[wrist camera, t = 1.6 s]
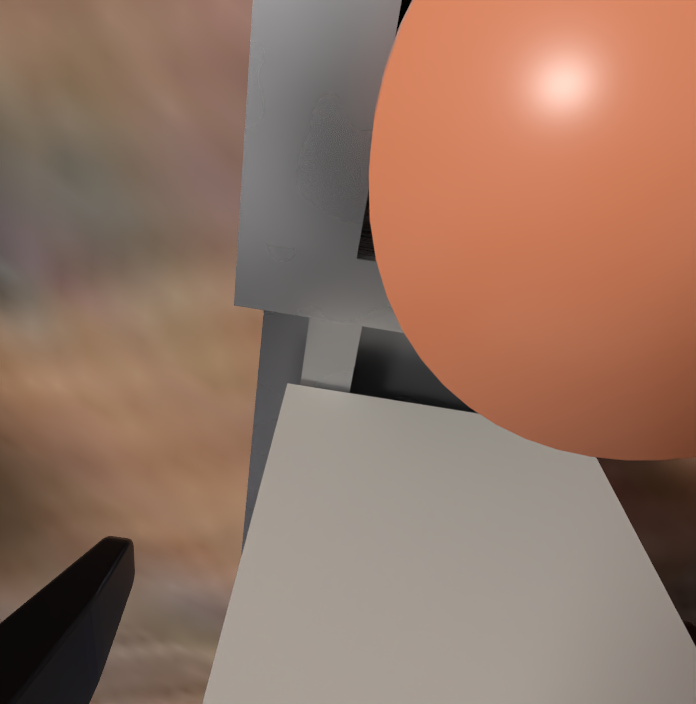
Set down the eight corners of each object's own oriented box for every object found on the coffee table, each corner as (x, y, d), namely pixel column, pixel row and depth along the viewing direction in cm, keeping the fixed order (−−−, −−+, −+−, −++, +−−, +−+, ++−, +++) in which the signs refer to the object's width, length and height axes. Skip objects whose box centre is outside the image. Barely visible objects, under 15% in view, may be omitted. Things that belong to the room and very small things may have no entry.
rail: (397, 780, 20) (402, 960, 16) (228, 757, 19) (192, 934, 16) (752, -70, 8) (1128, -184, 4) (322, -153, 7) (263, -363, 4)
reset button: (599, 258, 8) (846, 497, 4) (352, 216, 8) (325, 415, 4) (720, -45, 6) (1434, -225, 2) (405, -105, 6) (467, -430, 2)
